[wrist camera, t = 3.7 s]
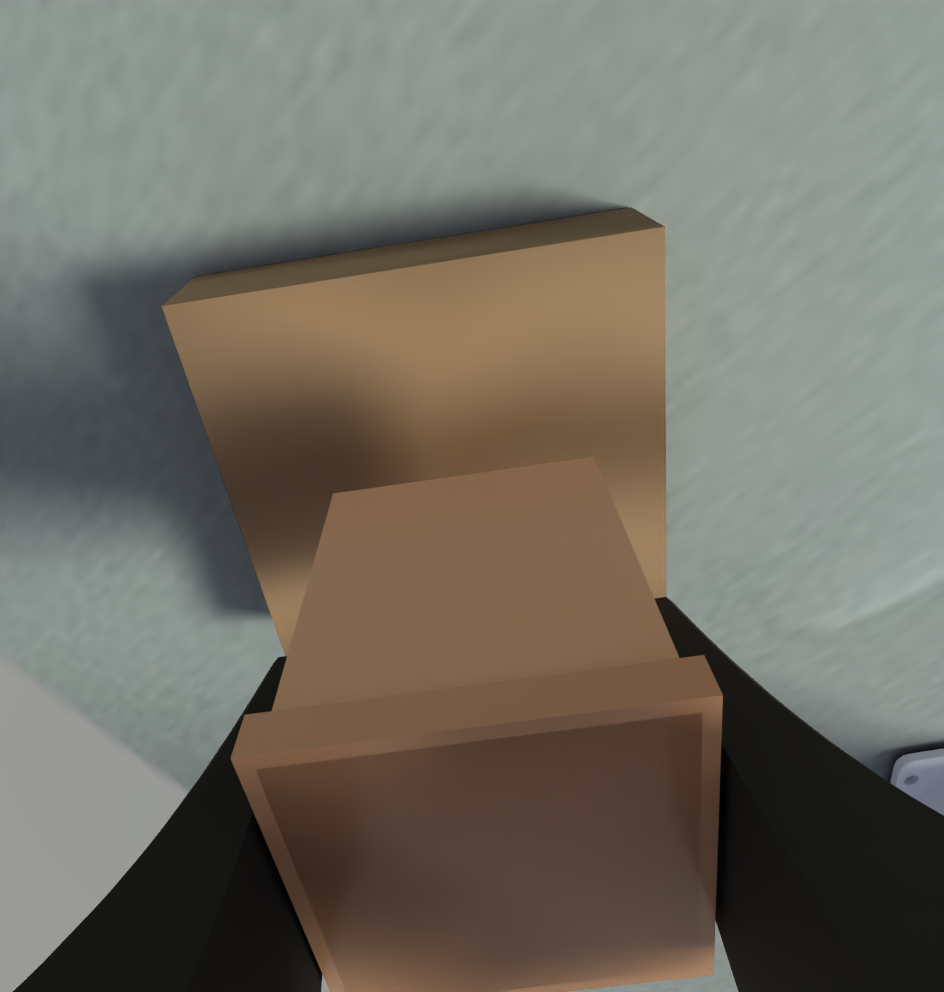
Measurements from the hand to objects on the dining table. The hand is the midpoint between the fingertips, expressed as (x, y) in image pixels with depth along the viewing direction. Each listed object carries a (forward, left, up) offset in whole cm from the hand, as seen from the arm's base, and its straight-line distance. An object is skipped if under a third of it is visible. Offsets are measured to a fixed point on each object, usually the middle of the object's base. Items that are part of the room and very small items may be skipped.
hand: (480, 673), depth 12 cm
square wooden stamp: (0, 0, -2) cm, 2 cm away
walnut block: (0, 0, -9) cm, 9 cm away
